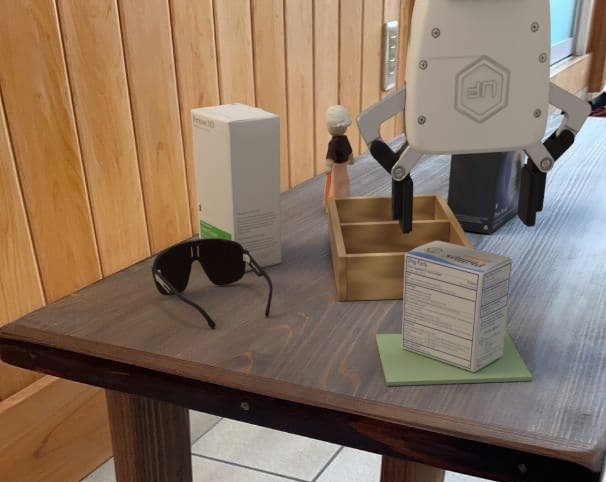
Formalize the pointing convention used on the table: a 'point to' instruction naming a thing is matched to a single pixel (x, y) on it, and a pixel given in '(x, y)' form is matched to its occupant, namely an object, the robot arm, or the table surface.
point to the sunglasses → (204, 267)
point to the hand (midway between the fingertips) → (465, 225)
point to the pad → (445, 366)
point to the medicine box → (455, 304)
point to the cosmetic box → (239, 178)
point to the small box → (485, 188)
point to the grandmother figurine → (337, 154)
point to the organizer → (383, 242)
